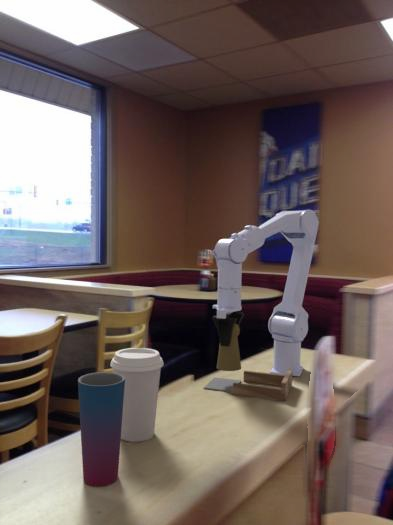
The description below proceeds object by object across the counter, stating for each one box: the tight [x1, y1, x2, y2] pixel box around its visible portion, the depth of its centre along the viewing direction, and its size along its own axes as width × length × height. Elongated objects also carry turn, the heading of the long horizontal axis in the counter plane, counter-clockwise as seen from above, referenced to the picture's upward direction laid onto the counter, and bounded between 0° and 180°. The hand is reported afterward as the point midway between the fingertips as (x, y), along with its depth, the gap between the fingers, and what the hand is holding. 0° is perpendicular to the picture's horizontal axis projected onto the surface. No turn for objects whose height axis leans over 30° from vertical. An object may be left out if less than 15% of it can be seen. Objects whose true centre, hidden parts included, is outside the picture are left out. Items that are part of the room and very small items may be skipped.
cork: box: [216, 324, 242, 372], centre depth 115 cm, size 6×6×11 cm
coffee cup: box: [110, 347, 165, 443], centre depth 85 cm, size 10×10×15 cm
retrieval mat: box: [203, 376, 242, 393], centre depth 116 cm, size 9×7×1 cm
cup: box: [77, 371, 125, 488], centre depth 70 cm, size 7×7×15 cm
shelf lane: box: [232, 369, 293, 402], centre depth 112 cm, size 12×12×4 cm
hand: (228, 343), depth 115 cm, fingers closed on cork, 5 cm apart
